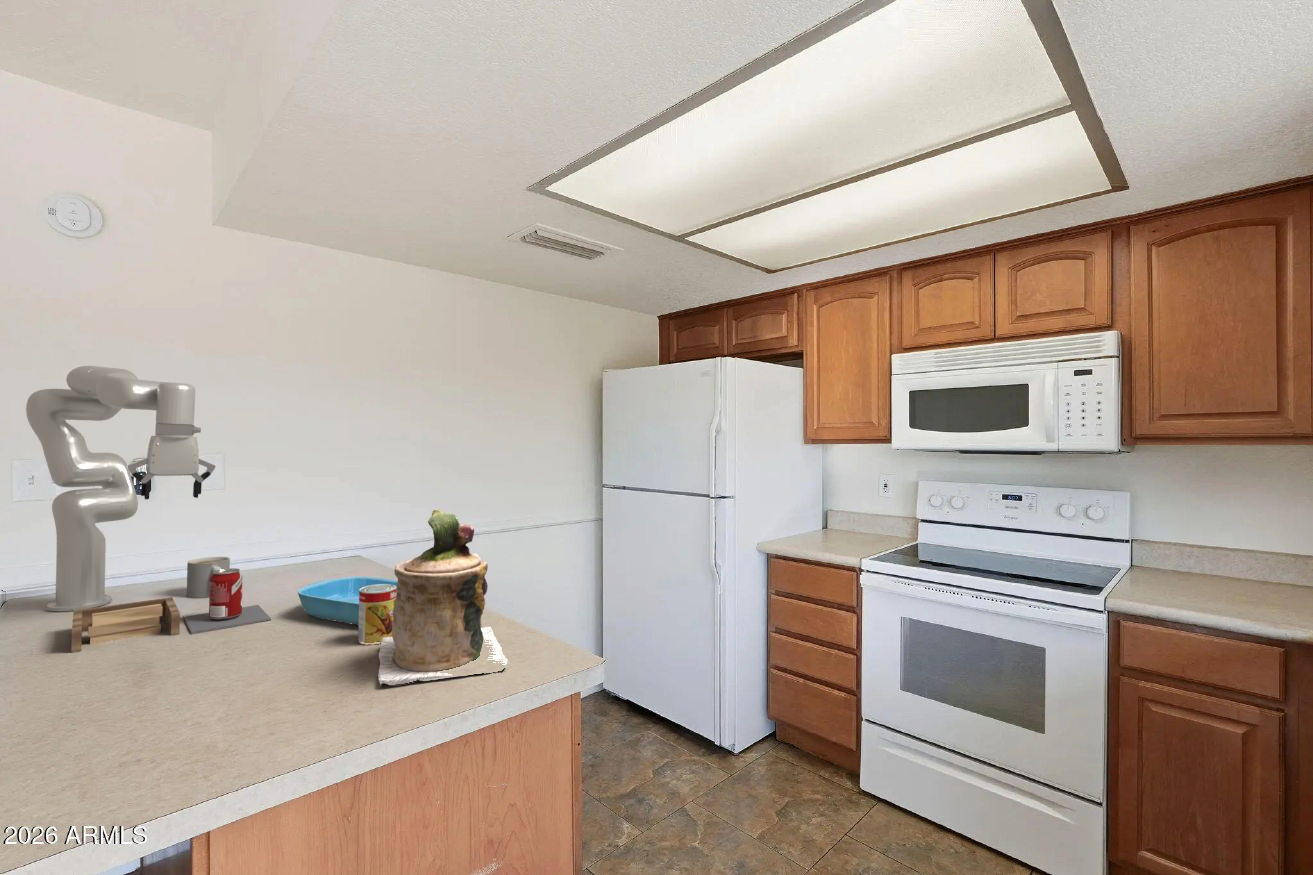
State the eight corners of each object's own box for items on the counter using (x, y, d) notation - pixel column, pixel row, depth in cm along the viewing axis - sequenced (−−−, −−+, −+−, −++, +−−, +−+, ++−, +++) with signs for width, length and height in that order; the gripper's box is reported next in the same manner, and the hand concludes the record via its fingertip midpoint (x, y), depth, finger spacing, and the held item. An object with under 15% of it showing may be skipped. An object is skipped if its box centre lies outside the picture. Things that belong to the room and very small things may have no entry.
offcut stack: (87, 640, 132) (88, 614, 132) (160, 628, 141) (160, 603, 141) (88, 645, 129) (88, 618, 129) (162, 632, 138) (162, 607, 138)
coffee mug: (184, 593, 172) (185, 559, 172) (225, 587, 179) (226, 555, 179) (191, 602, 162) (192, 567, 162) (234, 596, 169) (235, 562, 170)
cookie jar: (375, 691, 108) (379, 520, 108) (379, 647, 131) (382, 505, 131) (510, 672, 118) (512, 515, 119) (492, 634, 141) (494, 502, 141)
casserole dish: (452, 611, 160) (452, 585, 160) (390, 636, 139) (391, 606, 139) (349, 596, 172) (350, 572, 172) (278, 618, 151) (279, 590, 151)
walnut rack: (73, 631, 137) (73, 610, 137) (171, 616, 150) (172, 597, 150) (71, 652, 125) (71, 629, 125) (179, 633, 137) (179, 612, 137)
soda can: (224, 622, 144) (225, 574, 144) (201, 620, 146) (202, 572, 146) (248, 614, 151) (249, 568, 151) (226, 612, 152) (227, 567, 152)
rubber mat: (183, 618, 149) (183, 616, 149) (258, 606, 160) (258, 604, 160) (191, 634, 137) (191, 632, 137) (271, 620, 148) (271, 618, 148)
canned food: (401, 639, 136) (402, 588, 136) (366, 647, 130) (367, 594, 130) (387, 631, 141) (388, 582, 141) (352, 639, 136) (353, 587, 136)
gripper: (214, 432, 157) (211, 495, 157) (128, 429, 145) (124, 497, 145) (219, 433, 152) (216, 498, 152) (130, 430, 139) (126, 501, 139)
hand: (171, 498), depth 148 cm, fingers open, 9 cm apart
